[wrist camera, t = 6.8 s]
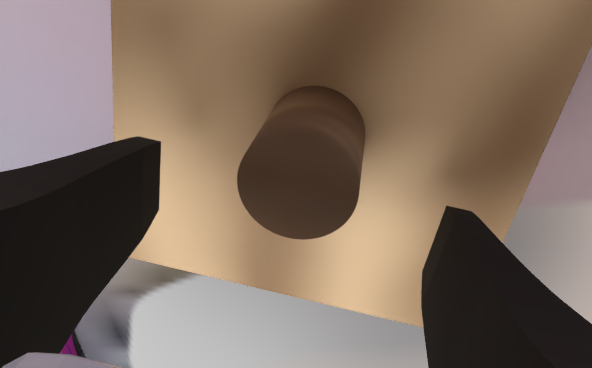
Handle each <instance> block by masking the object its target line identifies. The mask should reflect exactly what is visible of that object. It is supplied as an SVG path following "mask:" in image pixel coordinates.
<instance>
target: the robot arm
mask: <svg viewBox="0 0 592 368" xmlns="http://www.w3.org/2000/svg"><path fill="white" fill-rule="evenodd" d="M160 163H161V141H157V140H153V139H148V138H144V137H139V136H137V137H131V138H126V139H123V140H119V141H115V142H112V143H109V144H105V145H102V146H99V147H96V148H92V149H89V150H86V151H82V152H79V153H76V154H73V155H69V156H66V157H62V158H58V159H54V160H51V161H47V162H43V163H39V164H35V165H32V166H28V167H23V168H19V169H14V170H9V171H4V172H0V368H122V367H118V366H114V365H110V364H106V363H102V362H99V361H95V360H91V359H87V358H83V357H79V356H75V355H71V354H60V352H61V350H62V349H63V347H64V346H65V344H66V342H67V341H68V339H69V338H70V336H71V334H72V333H73V331H74V330H75V328H76V326H77V325H78V323H79V322H80V320H81V318H82V317H83V315H84V314H85V313H86V311H87V310H88V308H89V307H90V306H91V304H92V303H93V302H94V300H95V299H96V298H97V296H98V295H99V294H100V293H101V291H102V290H103V289H104V288H105V286H106V285H107V284H108V283H109V281H110V280H111V279H112V278H113V276H114V275H115V274H116V273H117V271H118V270H119V269H120V268H121V266H122V265H123V264H124V263H125V261H126V260H127V259H128V257H129V256H130V255H131V254H132V252H133V251H134V250H135V248H136V247H137V246H138V245H139V243H140V242H141V241H142V239H143V237H144V236H145V234H146V232H147V231H148V229H149V227H150V226H151V224H152V222H153V220H154V218H155V216H156V215H157V213H158V211H159V196H160ZM421 309H422V318H423V326H424V335H425V342H426V350H427V358H428V366H429V368H592V324H591V323H590V322H588V321H587V320H586V319H584V318H583V317H582V316H581V315H579V314H578V313H577V312H576V311H574V310H573V309H572V308H571V307H569V306H568V305H567V304H566V303H564V302H563V301H562V300H561V299H559V298H558V297H557V296H556V295H555V294H554V293H553V292H551V291H550V290H549V289H548V288H547V287H546V286H545V285H544V284H543V283H542V282H541V281H540V280H539V279H537V278H536V277H535V276H534V275H533V274H532V273H531V272H530V271H529V270H528V269H527V268H526V267H525V266H524V265H523V264H522V263H521V262H520V261H519V260H518V259H517V258H516V257H515V256H514V255H513V254H512V253H511V252H510V251H509V250H508V249H507V247H505V245H504V244H503V243H502V242H501V241H500V240H499V239H498V238H497V237H496V235H495V234H494V233H493V232H492V231H491V230H490V229H489V228H488V227H487V226H486V225H485V224H484V223H483V221H482V220H481V219H480V218H479V217H478V216H477V215H476V214H474V213H473V212H472V211H469V210H464V209H460V208H455V207H451V206H446V208H445V211H444V213H443V216H442V219H441V221H440V224H439V227H438V230H437V232H436V235H435V238H434V240H433V243H432V246H431V249H430V251H429V254H428V257H427V259H426V262H425V265H424V268H423V270H422V288H421Z"/></svg>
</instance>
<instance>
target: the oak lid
mask: <svg viewBox="0 0 592 368" xmlns="http://www.w3.org/2000/svg"><path fill="white" fill-rule="evenodd" d="M111 30H112V72H113V114H114V142H115V141H119V140H123V139H126V138H131V137H137V136H139V137H144V138H148V139H153V140H157V141H161V163H160V196H159V211H158V213H157V215H156V216H155V218H154V220H153V222H152V224H151V226H150V227H149V229H148V231H147V232H146V234H145V236H144V237H143V239H142V241H141V242H140V243H139V245H138V246H137V247H136V248H135V250H134V251H133V252H132V254H131V255H130V256H129V257H130V258H134V259H138V260H143V261H147V262H151V263H155V264H159V265H164V266H168V267H172V268H176V269H180V270H184V271H189V272H193V273H197V274H201V275H205V276H210V277H214V278H218V279H223V280H226V281H231V282H235V283H240V284H243V285H247V286H252V287H256V288H260V289H264V290H269V291H273V292H277V293H281V294H285V295H289V296H293V297H298V298H302V299H306V300H310V301H315V302H319V303H323V304H327V305H331V306H336V307H339V308H344V309H348V310H352V311H356V312H360V313H365V314H369V315H373V316H377V317H381V318H385V319H390V320H394V321H398V322H402V323H407V324H411V325H415V326H419V327H423V328H424V326H423V318H422V309H421V288H422V270H423V268H424V265H425V262H426V259H427V257H428V254H429V251H430V249H431V246H432V243H433V240H434V238H435V235H436V232H437V230H438V227H439V224H440V221H441V219H442V216H443V213H444V211H445V208H446V206H451V207H455V208H460V209H464V210H469V211H472V212H473V213H474V214H476V215H477V216H478V217H479V218H480V219H481V220H482V221H483V223H484V224H485V225H486V226H487V227H488V228H489V229H490V230H491V231H492V232H493V233H494V234H495V235H496V237H497V238H498V239H499V240H500V241H501V242H502V243H503V240H504V238H505V236H506V234H507V232H508V229H509V227H510V225H511V223H512V220H513V218H514V216H515V214H516V212H517V209H518V207H519V205H520V203H521V200H522V198H523V196H524V194H525V192H526V189H527V187H528V185H529V183H530V180H531V178H532V176H533V174H534V172H535V169H536V167H537V165H538V163H539V160H540V158H541V156H542V154H543V152H544V149H545V147H546V145H547V143H548V140H549V138H550V136H551V134H552V132H553V129H554V127H555V125H556V123H557V120H558V118H559V116H560V114H561V112H562V109H563V107H564V105H565V103H566V100H567V98H568V96H569V94H570V92H571V89H572V87H573V85H574V83H575V80H576V78H577V76H578V74H579V72H580V69H581V67H582V65H583V63H584V60H585V58H586V56H587V54H588V52H589V49H590V47H591V45H592V0H111Z"/></svg>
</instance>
